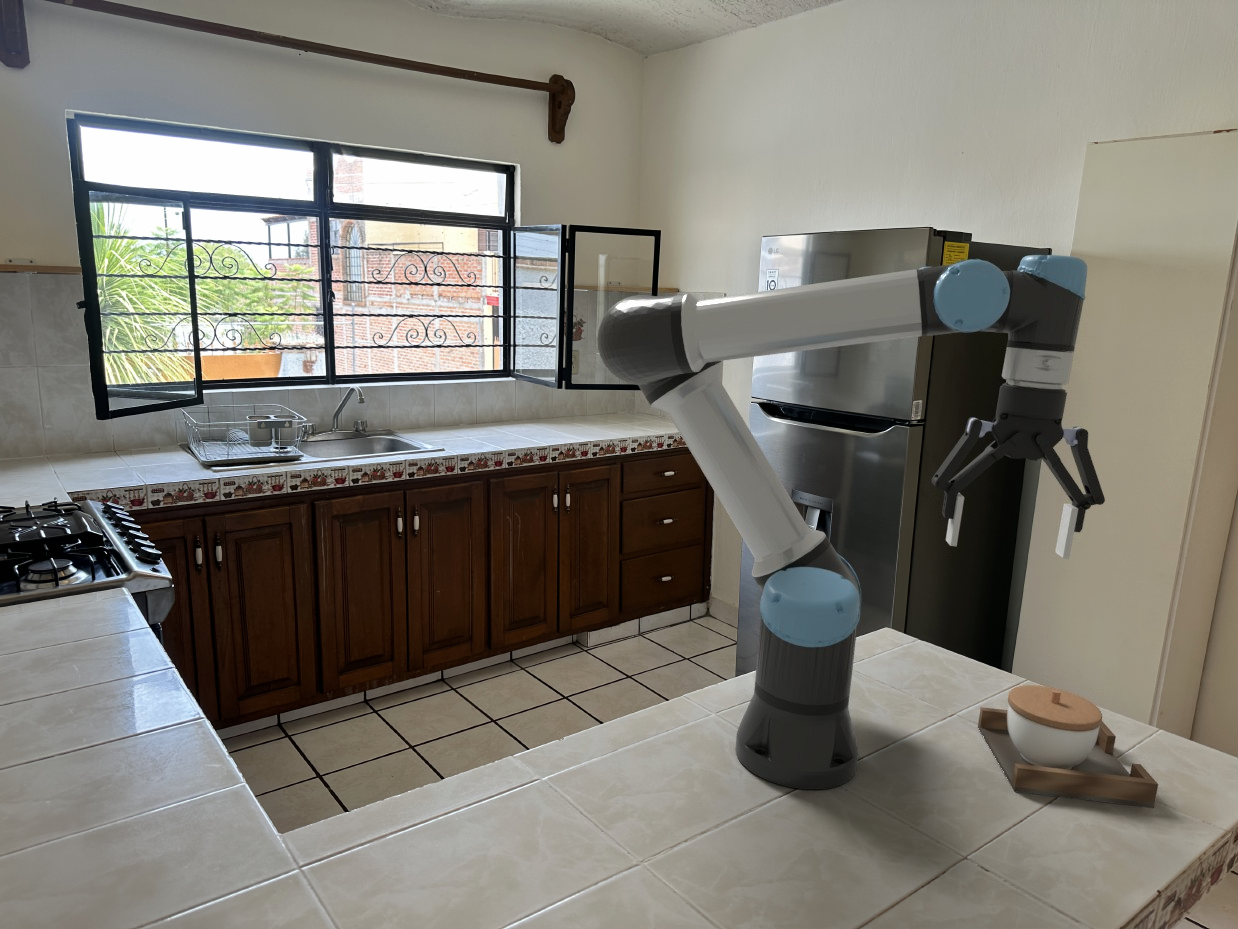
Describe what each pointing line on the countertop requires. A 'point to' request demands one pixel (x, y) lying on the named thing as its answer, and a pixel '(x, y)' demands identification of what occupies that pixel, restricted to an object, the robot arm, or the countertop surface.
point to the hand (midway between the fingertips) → (1006, 549)
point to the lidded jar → (1052, 726)
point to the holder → (1084, 781)
